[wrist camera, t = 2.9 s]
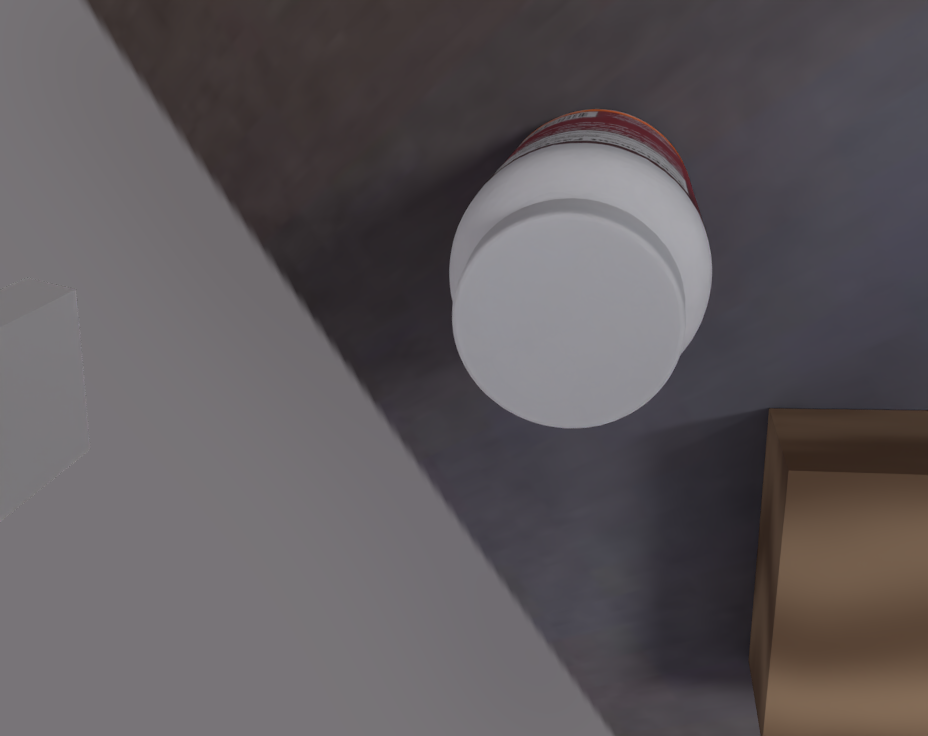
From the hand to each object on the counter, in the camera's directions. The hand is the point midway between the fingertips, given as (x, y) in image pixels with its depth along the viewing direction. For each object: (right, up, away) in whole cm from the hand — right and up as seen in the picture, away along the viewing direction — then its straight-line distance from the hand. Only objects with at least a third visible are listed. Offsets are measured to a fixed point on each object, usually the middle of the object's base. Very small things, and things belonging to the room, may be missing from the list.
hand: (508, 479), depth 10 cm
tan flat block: (+17, -5, +17) cm, 24 cm away
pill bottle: (+4, +7, +14) cm, 16 cm away
